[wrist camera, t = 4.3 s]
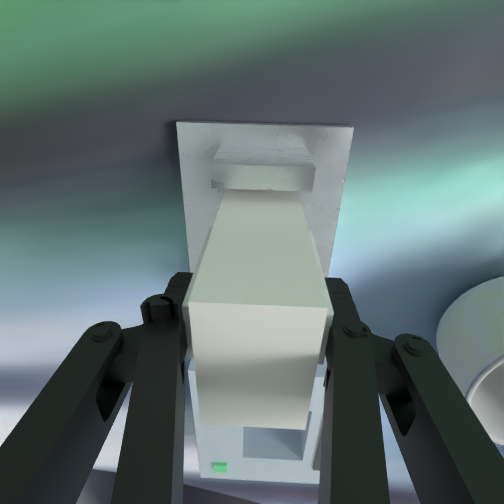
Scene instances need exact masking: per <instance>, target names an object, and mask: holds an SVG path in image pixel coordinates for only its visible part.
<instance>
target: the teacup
mask: <svg viewBox="0 0 504 504" xmlns="http://www.w3.org/2000/svg"><path fill="white" fill-rule="evenodd" d="M436 344H437V350H438V354H439V357H440V359H441V361H442V363H443V364H444V366H445V367H446V369H447V370H448V372H449V374H450V375H451V377H452V378H453V380H454V381H455V383H456V385H457V386H458V388H459V389H460V391H461V392H462V394H463V396H464V397H465V399H466V400H467V402H468V403H469V405H470V407H471V408H472V410H473V411H474V413H475V414H476V416H477V418H478V419H479V421H480V422H481V424H482V425H483V427H484V429H485V430H486V432H487V433H488V435H489V436H490V438H491V440H492V441H493V442H494V443H496V444H498V445H504V276H502V277H498V278H495V279H491V280H489V281H486V282H484V283H481V284H479V285H477V286H475V287H473V288H471V289H470V290H468V291H467V292H465V293H464V294H462V295H461V296H459V297H458V298H457V299H456V300H455V301H454V302H453V303H452V304H451V305H450V306H449V307H448V309H447V310H446V311H445V313H444V314H443V316H442V318H441V320H440V322H439V325H438V328H437V333H436Z"/></svg>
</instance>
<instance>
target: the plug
mask: <svg viewBox="0 0 504 504" xmlns="http://www.w3.org/2000/svg"><path fill="white" fill-rule="evenodd" d="M188 306H189V315H190V325H191V335H192V345H193V355H194V365H195V375H196V384H197V394H198V404H199V414H200V424H202V425H222V426H241V427H260V428H279V429H298V430H305V429H306V423H307V418H308V413H309V407H310V402H311V397H312V391H313V386H314V381H315V375H316V370H317V365H318V359H319V354H320V348H321V343H322V338H323V332H324V327H325V322H326V316H327V311H328V306H327V302H326V298H325V294H324V290H323V286H322V282H321V278H320V274H319V270H318V266H317V262H316V258H315V254H314V250H313V246H312V243H311V239H310V235H309V231H308V227H307V223H306V219H305V215H304V211H303V207H302V203H301V199H300V195H299V191H279V190H250V189H225V192H224V195H223V198H222V201H221V204H220V207H219V210H218V213H217V216H216V219H215V222H214V225H213V228H212V231H211V234H210V237H209V240H208V243H207V247H206V250H205V253H204V256H203V259H202V262H201V265H200V268H199V271H198V274H197V277H196V280H195V283H194V286H193V289H192V292H191V295H190V298H189V301H188Z"/></svg>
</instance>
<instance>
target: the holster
mask: <svg viewBox="0 0 504 504" xmlns="http://www.w3.org/2000/svg"><path fill="white" fill-rule="evenodd" d="M176 125H177V136H178V147H179V158H180V169H181V180H182V191H183V201H184V212H185V223H186V234H187V245H188V256H189V267H190V273H194V270H195V267H196V264H197V262H198V259H199V256H200V253H201V250H202V247H203V244H204V242H205V239H206V236H207V233H208V230H209V227H213V225H214V222H215V219H216V216H217V213H218V210H219V207H220V204H221V201H222V198H223V195H224V192H225V189H250V190H279V191H299V195H300V199H301V203H302V207H303V211H304V215H305V219H306V223H307V227H308V231H312V234H313V238H314V241H315V245H316V249H317V252H318V256H319V260H320V264H321V267H322V271H323V275H324V277H326V278H328V273H329V267H330V261H331V256H332V250H333V244H334V238H335V233H336V227H337V221H338V216H339V210H340V204H341V198H342V193H343V187H344V181H345V175H346V170H347V164H348V158H349V153H350V147H351V141H352V135H353V130H354V127H352V126H351V125H324V124H291V123H258V122H226V121H193V120H179V121H177V122H176Z"/></svg>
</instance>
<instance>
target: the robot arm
mask: <svg viewBox="0 0 504 504" xmlns="http://www.w3.org/2000/svg"><path fill="white" fill-rule="evenodd" d="M212 228H213V227H209V230H208V233H207V236H206V239H205V242H204V244H203V247H202V250H201V253H200V256H199V259H198V262H197V264H196V267H195V270H194V273H188V272H177V273H176V274H175V275H174V276H173V277H172V278H171V279H170V281H169V283H168V287H167V288H166V290H165V293H164V294H158V295H153V296H151V297H149V298H147V299H146V300H145V301H143V303H142V304H141V306H140V307H141V312H142V317H143V322H144V324H142V325H139V326H136V327H131V328H126V329H121V327H120V325H119V324H118V323H116V322H112V321H104V322H100V323H97V324H95V325H93V326H91V327H89V328H88V329H87V330H86V331H85V332H84V334H83V335H82V336H81V338H80V339H79V340H78V342H77V343H76V344H75V346H74V347H73V349H72V350H71V351H70V353H69V354H68V355H67V357H66V358H65V359H64V361H63V362H62V364H61V365H60V366H59V368H58V369H57V370H56V372H55V373H54V374H53V376H52V377H51V379H50V380H49V381H48V383H47V384H46V385H45V387H44V388H43V389H42V391H41V392H40V394H39V395H38V396H37V398H36V399H35V400H34V402H33V403H32V404H31V406H30V407H29V408H28V410H27V411H26V413H25V414H24V415H23V417H22V418H21V419H20V421H19V422H18V423H17V425H16V426H15V428H14V429H13V430H12V432H11V433H10V434H9V436H8V437H7V438H6V440H5V441H4V443H3V444H2V445H1V447H0V504H76V502H77V500H78V498H79V496H80V493H81V491H82V489H83V487H84V485H85V483H86V481H87V478H88V476H89V474H90V472H91V470H92V468H93V466H94V463H95V461H96V459H97V457H98V455H99V453H100V451H101V448H102V446H103V444H104V442H105V440H106V438H107V436H108V433H109V431H110V429H111V427H112V425H113V423H114V421H115V419H116V416H117V414H118V412H119V410H120V408H121V406H122V404H123V401H124V399H125V397H126V395H127V393H128V391H129V389H130V386H131V384H132V382H133V385H132V391H131V396H130V402H129V407H128V413H127V418H126V424H125V429H124V435H123V440H122V446H121V451H120V457H119V462H118V468H117V473H116V479H115V484H114V489H113V495H112V500H111V504H183V462H184V411H185V360H184V358H185V355H186V351H187V356H188V358H193V359H194V355H193V345H192V335H191V325H190V315H189V306H188V301H189V298H190V295H191V292H192V289H193V286H194V283H195V280H196V277H197V274H198V271H199V268H200V265H201V262H202V259H203V256H204V253H205V250H206V247H207V243H208V240H209V237H210V234H211V231H212ZM309 235H310V239H311V243H312V246H313V250H314V254H315V258H316V262H317V266H318V270H319V274H320V278H321V282H322V286H323V290H324V294H325V298H326V302H327V306H328V311H327V316H326V322H325V327H324V332H323V338H322V343H321V348H320V354H319V359H318V364H319V365H324V360H325V357H326V361H327V369H326V374H325V378H324V383H323V387H325V391H324V409H323V427H322V444H321V462H320V480H319V497H318V504H390V498H389V489H388V480H387V470H386V461H385V452H384V443H383V433H382V424H381V415H380V406H379V396H380V399H381V401H382V404H383V407H384V409H385V412H386V414H387V417H388V420H389V422H390V425H391V427H392V430H393V433H394V435H395V438H396V441H397V443H398V446H399V448H400V451H401V454H402V456H403V459H404V461H405V464H406V467H407V469H408V472H409V475H410V477H411V480H412V482H413V485H414V488H415V490H416V493H417V496H418V498H419V501H420V503H421V504H504V458H503V457H502V455H501V454H500V452H499V451H498V449H497V447H496V446H495V444H494V443H493V441H492V440H491V438H490V436H489V435H488V433H487V432H486V430H485V429H484V427H483V425H482V424H481V422H480V421H479V419H478V418H477V416H476V414H475V413H474V411H473V410H472V408H471V407H470V405H469V403H468V402H467V400H466V399H465V397H464V396H463V394H462V392H461V391H460V389H459V388H458V386H457V385H456V383H455V381H454V380H453V378H452V377H451V375H450V374H449V372H448V370H447V369H446V367H445V366H444V364H443V363H442V361H441V359H440V358H439V356H438V355H437V353H436V352H435V350H434V348H433V347H432V346H431V345H430V344H429V343H428V342H427V341H426V340H424V339H423V338H421V337H418V336H416V335H413V334H400V335H399V336H397V337H396V339H395V341H393V340H389V339H386V338H382V337H379V336H376V335H374V334H372V333H371V331H370V328H369V327H368V326H367V325H366V324H364V323H363V322H361V321H360V318H359V315H358V313H357V310H356V307H355V304H354V302H353V300H352V296H351V294H350V291H349V288H348V285H347V284H346V283H345V282H344V281H343V280H342V279H341V278H326V277H324V275H323V271H322V267H321V264H320V260H319V256H318V252H317V249H316V245H315V241H314V238H313V234H312V231H309ZM378 393H379V396H378Z"/></svg>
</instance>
